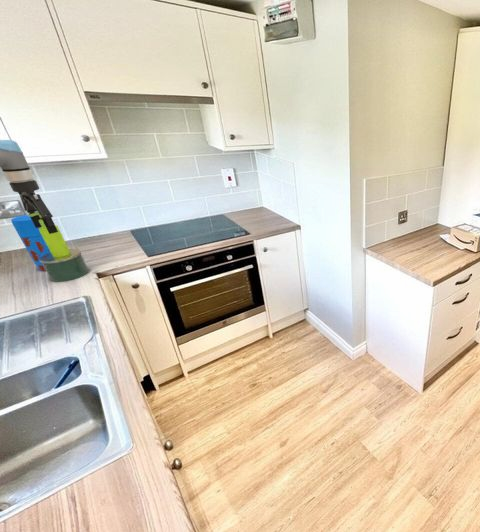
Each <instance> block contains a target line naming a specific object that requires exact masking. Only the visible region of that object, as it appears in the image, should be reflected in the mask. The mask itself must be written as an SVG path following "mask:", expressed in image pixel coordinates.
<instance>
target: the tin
mask: <svg viewBox="0 0 480 532" xmlns="http://www.w3.org/2000/svg"><path fill="white" fill-rule="evenodd" d="M69 250H70V254H68V255H66V256H62V257H53V256H52V254H51V253H48V254H46V255H43V256H42V257H40V258H39V260H40V262H41V263H42V264H43V266H44V267H45V269H46V271H45V272H46V273H47V275H48V276H49V279H50V280H51V281H52V282H55V283H60V282H68V281H73V280H76V279H79V278H81V277H83V276H85V275H87V274H88V273H89V271H90V269H89V267H88V266H87V263H86V262H85V260H84V258H83V255H82V251H81V249H78V248H69Z"/></svg>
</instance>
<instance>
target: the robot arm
mask: <svg viewBox="0 0 480 532" xmlns="http://www.w3.org/2000/svg"><path fill="white" fill-rule="evenodd" d="M0 169H1V171H2V173H3V175H4V177H5V179H6V180H7V182H8V183H9V184H8V185H9V186H10V188H11V190H12V191H13V192H14V193H17V194H18V196H19V197H20V200H21V204H22V207H23V210H24V211H25V212H26V213H27V214H28V215H30V214H33V213H37V212H38V213H39V214H40V215H41V218H40V217H39V215H35V216H33V217H30V218H31V220H32V222H33V224H34V225H35V227H36V228H39V227H42V226H41V224H40V222H39V220H40V219H41V220H43V222H44V224H45V226H46V228H47V230H48V232H49V234H52V233H56V232H58V230H57V228H56V226H55V225H56V224H55V222H54V220H53V217H54V215H53V214H52V213H51V211H50V210H49V208H48V207H47V205H46V203H45V202H44V200H43V199H42V197H41V195H40V194H39V193H36V192H35V191H39V190H40V186H39V184H38V182H37V180H35V176H34V173H35V172H34V170H31V168H30V165H29V163H28V162H27V159H26V157H25V155H24V152H23V151H22V149H21V147H20V145H19V144H18V143H17V141H15V140H13V139H0Z"/></svg>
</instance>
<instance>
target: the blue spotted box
mask: <svg viewBox="0 0 480 532" xmlns="http://www.w3.org/2000/svg"><path fill="white" fill-rule="evenodd" d="M28 215H29V214H25V215H24V214H23V215H20V216H15V217H13V218H11V219H10V221H11V224H12V226H13V228H14V229H15V232H16V233H17V235H18V236H19V238H20V240H21V242H22V244H23V246H24V247H25V249H26V251H27V252H28V254H29V257H30V258H31V260H32V261H33V263H34V265H35V266H36V268H37V269H38V271H40V272H47V271H46V269H45V267H44V266H43V264H42V263H41V262H40V260H39V258H40V257H42V256H43V255H46V254H48V253H51V252H50V250H49V248H48V246H47V244H46V242H45V241H44V239H43V237H42V235H41V233H40V231H39V228H41V227H39V228H36V227H35V225H34V224H33V222H32V220H31V218H30V217H29V216H28Z"/></svg>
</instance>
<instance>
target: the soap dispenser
mask: <svg viewBox="0 0 480 532" xmlns="http://www.w3.org/2000/svg"><path fill="white" fill-rule="evenodd" d="M27 215H28V216H29V217H33V216H35V215H39V217H40V218H41V215H40V214H39V213H38V212H37V213H33V214H30V215H29V214H27ZM39 222H40V224H41V226H42V227H41V228H39V231H40V233H41V235H42V237H43V239H44V241H45V242H46V244H47V246H48V248H49V250H50V252H51V254H52V256H53V257H62V256H66V255H68V254H70V250H69V249H70V248H69V246H68V244H67V242H66V241H65V239H64V236H63V234H62V233H61V230H60V229H59V227H58V225H57V224H55V226H56V228H57V230H58V232H56V233H52V234H49V232H48V230H47V228H46V226H45V224H44V222H43V220H41V219H40V220H39Z"/></svg>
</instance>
